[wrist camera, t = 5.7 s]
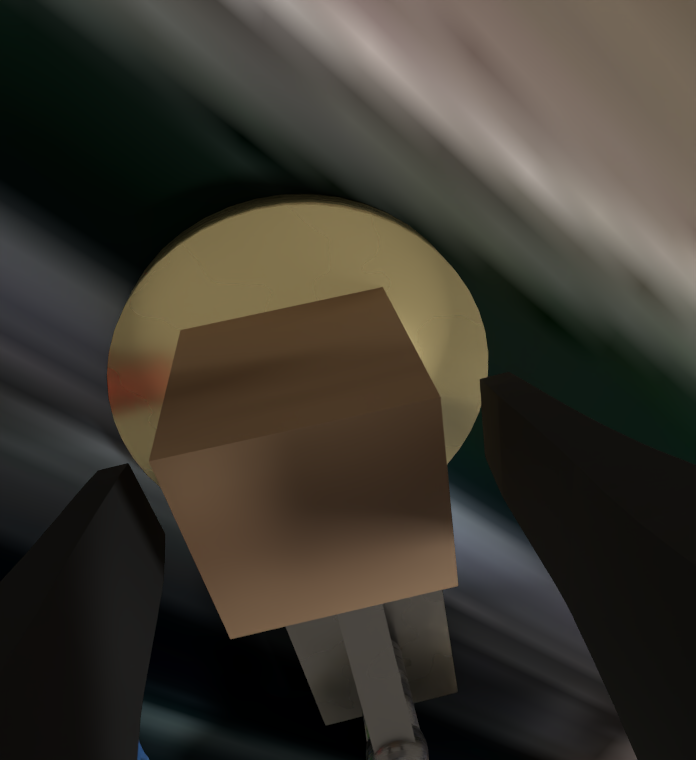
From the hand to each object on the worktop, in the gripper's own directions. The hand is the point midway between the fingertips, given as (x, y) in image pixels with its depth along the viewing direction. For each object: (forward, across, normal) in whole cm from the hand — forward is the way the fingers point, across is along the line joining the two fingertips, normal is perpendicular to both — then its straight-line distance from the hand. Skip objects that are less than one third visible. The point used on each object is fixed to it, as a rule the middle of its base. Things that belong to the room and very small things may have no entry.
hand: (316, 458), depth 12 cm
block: (+2, 0, 0) cm, 2 cm away
